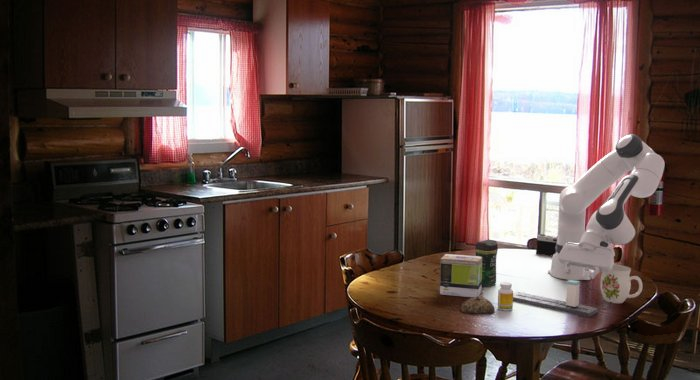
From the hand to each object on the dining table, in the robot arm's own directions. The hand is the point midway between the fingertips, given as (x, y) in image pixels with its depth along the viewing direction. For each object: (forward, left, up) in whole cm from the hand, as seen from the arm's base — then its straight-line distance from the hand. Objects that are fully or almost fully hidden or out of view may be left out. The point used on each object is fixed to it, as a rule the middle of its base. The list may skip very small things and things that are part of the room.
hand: (578, 275), depth 271 cm
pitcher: (-17, +9, -12) cm, 22 cm away
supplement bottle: (+22, -18, -12) cm, 31 cm away
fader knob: (+6, +1, -10) cm, 12 cm away
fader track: (+6, -7, -12) cm, 15 cm away
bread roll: (+29, -26, -12) cm, 40 cm away
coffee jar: (-4, -41, -12) cm, 43 cm away
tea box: (+15, -41, -12) cm, 46 cm away
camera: (-76, -45, -12) cm, 89 cm away
